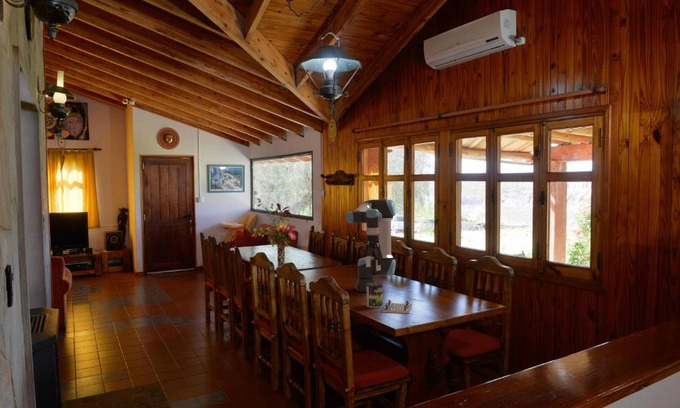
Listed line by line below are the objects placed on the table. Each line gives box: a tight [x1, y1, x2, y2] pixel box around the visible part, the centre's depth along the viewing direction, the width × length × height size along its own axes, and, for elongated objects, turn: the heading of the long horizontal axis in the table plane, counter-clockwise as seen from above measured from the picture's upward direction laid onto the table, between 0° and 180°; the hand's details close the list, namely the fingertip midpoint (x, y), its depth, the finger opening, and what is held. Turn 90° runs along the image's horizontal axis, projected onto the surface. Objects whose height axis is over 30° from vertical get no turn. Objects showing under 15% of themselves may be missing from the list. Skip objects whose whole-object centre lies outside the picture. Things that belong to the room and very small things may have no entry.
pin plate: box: [381, 299, 413, 314], centre depth 304 cm, size 16×16×4 cm
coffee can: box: [366, 281, 384, 309], centre depth 313 cm, size 10×10×14 cm
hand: (373, 268), depth 308 cm, fingers open, 13 cm apart
